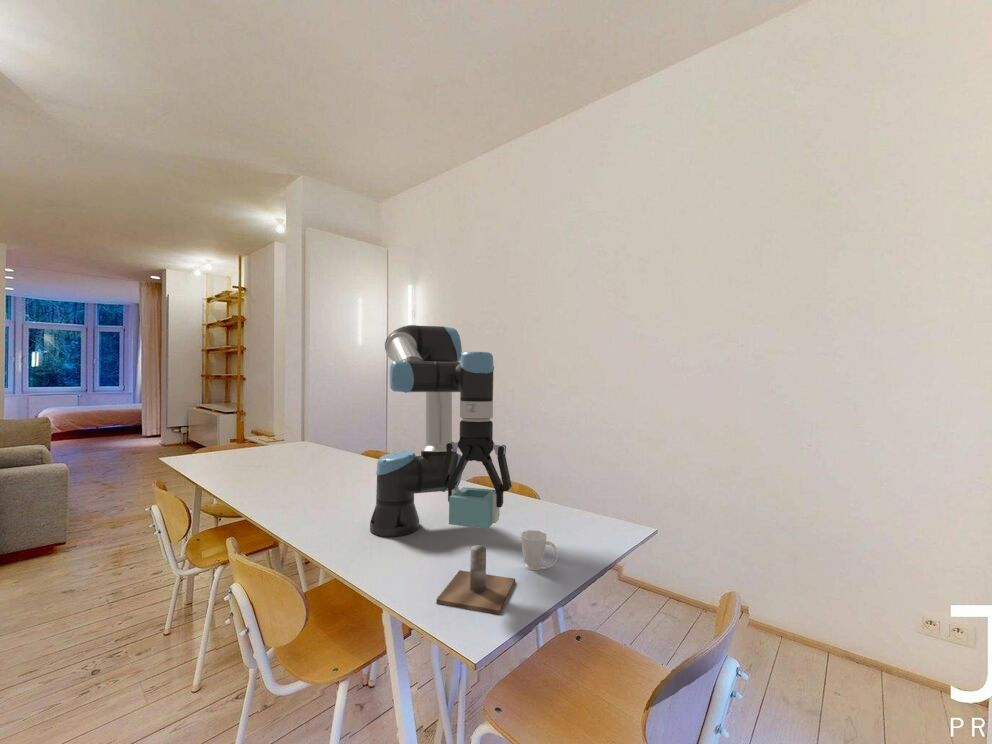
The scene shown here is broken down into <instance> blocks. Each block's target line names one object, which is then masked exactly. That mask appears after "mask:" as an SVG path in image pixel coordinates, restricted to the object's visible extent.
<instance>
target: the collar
mask: <svg viewBox="0 0 992 744" xmlns="http://www.w3.org/2000/svg"><path fill="white" fill-rule="evenodd" d="M495 491H496V490H495V489H488V488H487V489H486V488H478V487H468V486H467V487H466V486H463V487H461V488H459V491H457V492H456V493H454V494H453V495H451V496H450V497H449V502H448V525H452V526H461V527H470V528H478V529H486V530H487V529H488V530H489V528H490V527H491V526H492V525H494V523H492V504H493V493H494V492H495Z"/></svg>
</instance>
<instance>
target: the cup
mask: <svg viewBox="0 0 992 744" xmlns="http://www.w3.org/2000/svg"><path fill="white" fill-rule="evenodd" d="M520 541H521V548H522V556H523V562H524V568H525V569H527V570H528V571H538V570H547V569H548V568H550V567H552V566H554V565H555V564H556V563H557V561H558V560H559V559H558V558H559V553H558V549H557V546H556V545H555V543H553V542H551V541H547V534H546V533H545V532H542V531H540V530H526V531H522V532H520ZM547 545H550V546H551V547H552V548H553V550H554V553H555V560H554V561H553V562H552V563H551V564H548V565H547V566H542V564H543V563H542V562H543V560H544V555H545V548H546V546H547Z"/></svg>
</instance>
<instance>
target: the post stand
mask: <svg viewBox="0 0 992 744" xmlns="http://www.w3.org/2000/svg"><path fill="white" fill-rule="evenodd" d="M469 567H470V569H469V570H470V571H467V570H459V569H458V571H457V573H456V574H455V575H454V577H453V578H452V579H451V580H450V581H449V583H448V584H447V585H446V587H445V588H444V589H443V591H442V592H441V593H440V594H439V595H438V597H437V598H436V600H435V601H436V604H440V605H445V606H451V607H456V608H462V609H468V610H473V611H478V612H484V613H490V614H493V615H494V614H495V615H496V614H497V615H500V614H501V612H502V610H503V608H504V606H505V604H506V603H507V600H508V598H509V596H510V593H511V592H512V590H513V587H514V585H515V583H516V579H515V578H512V577H508V576H507V577H506V576H501V575H493V574H487V547H486V546H484V545H478V544H477V545H473V546H471V547H470V566H469Z"/></svg>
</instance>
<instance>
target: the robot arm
mask: <svg viewBox="0 0 992 744" xmlns="http://www.w3.org/2000/svg"><path fill="white" fill-rule="evenodd" d="M384 351H385V354H386V355H387V357H388V358H389V359H390V360H391V361H392V362H391V363H390V367H389V388H390V389H391V390H392V391H393V392H398V393H399V392H400V393H405V394H406V393H425V445H424V446H423V447H422V448H421V449H420V455H416V454H415V452H414V451H412V450H408V451H405V450H402V451H401V450H400V451H396V452H390V453H387V454H384V455H382V456H381V457H380V458H378V460H377V462H376V464H377V465H376V472H375V475H376V493H375V496H376V497H375V498H376V499H375V500H376V501H375V507H374V509H373V512H372V514H371V519H370V521H369V531H370V532H371V533H372V534H374V535H376V536H378V537H379V536H380V537H387V538H388V537H390V538H391V537H401V536H406V535H409V534H413V533H414V532H416V531H418V530H419V528H420V518H419V513H418V511H417V507H416V505H415V495H416V494H424V493H425V494H426V493H435V492H437V493H439V492H442V493H445V492H447V501H448V503H449V497H450V496H451V495H453V494H454V493H456V492H457V491H459V490H460V486H459V485H460V484H461V480H462V476H463V473H464V470H465V468H466V466H467V464H468V462H473V461H475V462H478V463H479V462H480V463H481V464H482V465H483V466H484V468H485V471H486V472H487V474H488V477H489V479H490V482H491V483H492V486H493V488H494V490H496V491H495V492H494V493H493V504H492V523H493V524H496V523H497V522H498V521H499V520H500V508H502V507H503V505H504V492H509V490H510V489H511V488H512V480H511V475H510V471H509V466H508V462H507V458H506V453H507V446H506V445H505V444H502V445H500V444H495V442H494V440H493V439H494V438H493V436H494V435H493V434H494V433H493V431H494V425H493V420H492V419H493V417H494V401H493V400H494V398H493V397H494V371H495V366H494V356H493V354H492V353H491V352H488V351H464V352H462V351H463V348H462V341H461V337H460V334H459V332H458V330H456V329H455V328H454V327H448V326H439V325H438V326H437V325H436V326H435V325H417V324H416V325H415V324H411V325H404V326H401V327H399V328H397V329H395V330H393V331H392V332H390V333H389V334H388V336H387V337H386V339H385V341H384ZM453 393H460V395H459V397H460V398H459V399H460V400H459V418H460V419H462V420H460V421H459V440H458V442H455V441H453ZM458 449H459V451H460V452H461V454H460V453H458ZM493 450H494V453H495V454H496V456H497V462H498V463H497V464H498V467H499V472H500V476H501V478H500V476H499V474H498V471H497V469H496V467H495V464H494V462H493V459H492V457H491V455H490V454H491V453H492V452H493Z"/></svg>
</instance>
